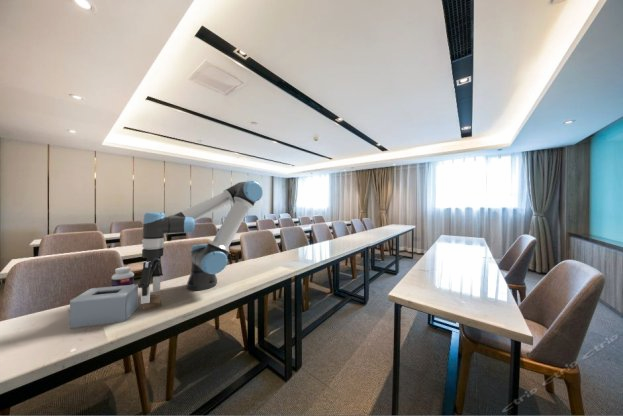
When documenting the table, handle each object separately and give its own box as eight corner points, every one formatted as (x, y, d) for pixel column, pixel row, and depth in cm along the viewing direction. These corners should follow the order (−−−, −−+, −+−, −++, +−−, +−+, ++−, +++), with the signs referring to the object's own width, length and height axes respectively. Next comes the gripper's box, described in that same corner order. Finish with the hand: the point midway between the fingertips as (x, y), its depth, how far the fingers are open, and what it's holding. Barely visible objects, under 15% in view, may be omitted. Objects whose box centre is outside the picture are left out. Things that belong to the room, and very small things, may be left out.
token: (161, 305, 96) (161, 294, 96) (159, 307, 94) (159, 296, 94) (145, 307, 94) (145, 295, 94) (143, 309, 92) (143, 298, 92)
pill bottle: (120, 303, 97) (120, 271, 97) (106, 301, 99) (106, 270, 98) (138, 296, 105) (138, 266, 105) (124, 294, 106) (125, 265, 106)
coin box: (137, 307, 94) (138, 284, 94) (124, 321, 83) (125, 295, 82) (90, 312, 88) (90, 288, 88) (69, 328, 77) (70, 300, 77)
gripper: (152, 243, 104) (151, 287, 104) (129, 253, 81) (127, 310, 81) (170, 243, 107) (169, 285, 107) (153, 253, 83) (151, 307, 83)
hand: (151, 296), depth 94 cm, fingers open, 13 cm apart
